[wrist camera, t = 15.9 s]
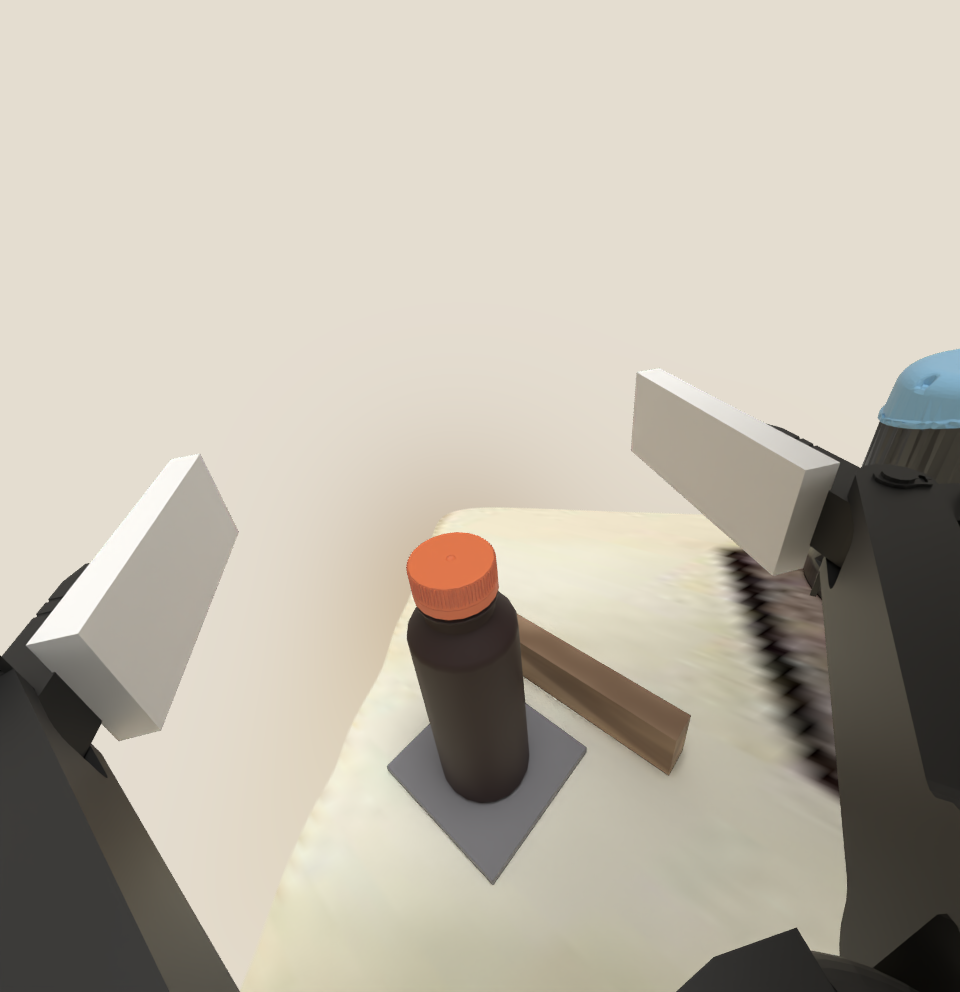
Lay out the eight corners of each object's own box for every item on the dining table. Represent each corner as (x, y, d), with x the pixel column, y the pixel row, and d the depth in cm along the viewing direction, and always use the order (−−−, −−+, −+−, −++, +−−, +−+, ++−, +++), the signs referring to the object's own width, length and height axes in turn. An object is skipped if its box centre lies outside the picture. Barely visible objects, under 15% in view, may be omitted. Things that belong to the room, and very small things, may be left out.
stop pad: (482, 675, 43) (481, 671, 42) (586, 751, 36) (586, 747, 36) (388, 770, 36) (386, 766, 36) (493, 884, 29) (492, 881, 29)
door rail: (474, 617, 49) (469, 585, 46) (682, 750, 35) (690, 715, 33) (458, 631, 47) (452, 599, 45) (668, 775, 34) (676, 741, 31)
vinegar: (547, 750, 36) (538, 548, 25) (490, 828, 32) (451, 626, 21) (482, 701, 40) (450, 509, 29) (424, 764, 36) (363, 568, 25)
